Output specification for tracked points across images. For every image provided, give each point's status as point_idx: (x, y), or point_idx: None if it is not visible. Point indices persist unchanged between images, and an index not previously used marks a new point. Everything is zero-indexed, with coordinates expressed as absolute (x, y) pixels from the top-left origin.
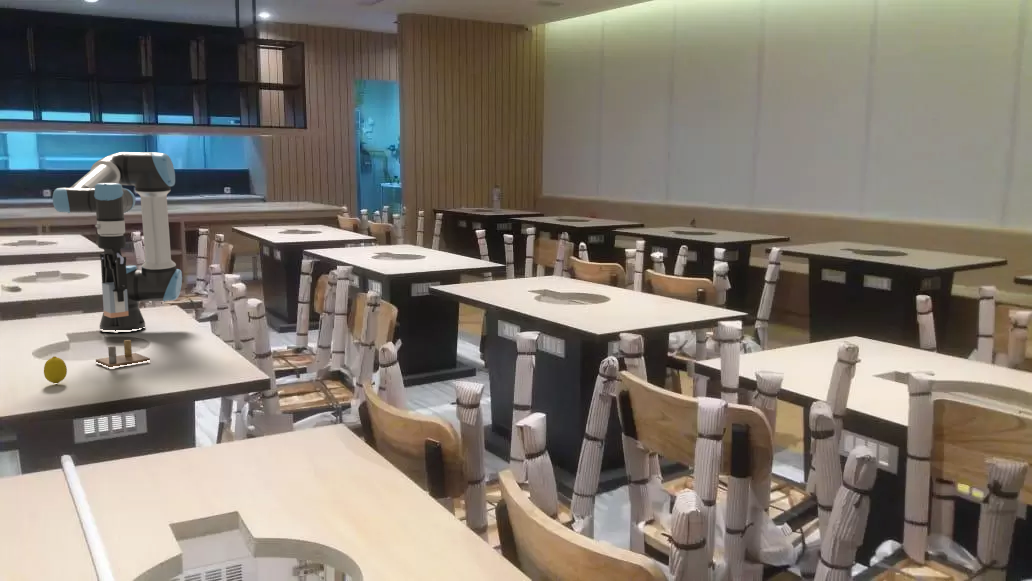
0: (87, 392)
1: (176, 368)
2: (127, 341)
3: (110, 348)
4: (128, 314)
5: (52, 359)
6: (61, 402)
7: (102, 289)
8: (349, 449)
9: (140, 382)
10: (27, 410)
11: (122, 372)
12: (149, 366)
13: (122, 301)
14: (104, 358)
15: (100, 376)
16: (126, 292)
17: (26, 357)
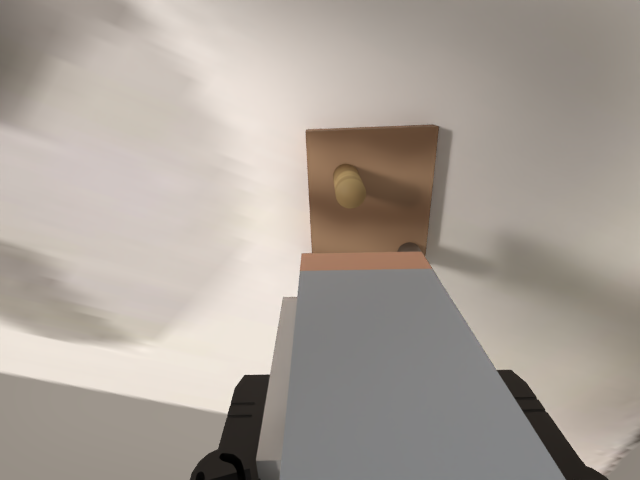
0: (589, 367)
1: (594, 85)
2: (364, 198)
3: None
4: (424, 256)
5: None
6: (609, 417)
7: None
8: None
9: (634, 252)
10: (598, 461)
11: (479, 245)
12: (478, 149)
13: (510, 379)
14: (320, 247)
15: (470, 301)
16: (505, 395)
17: (101, 360)
